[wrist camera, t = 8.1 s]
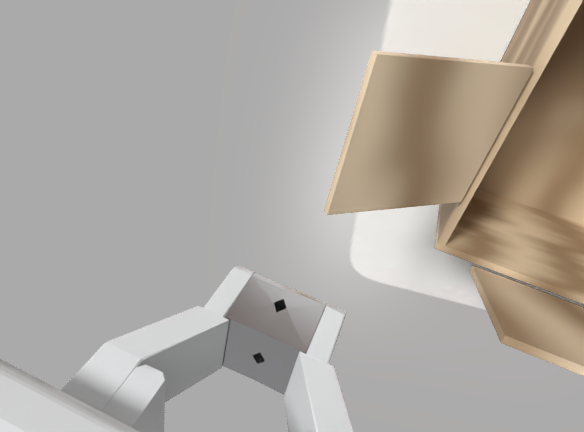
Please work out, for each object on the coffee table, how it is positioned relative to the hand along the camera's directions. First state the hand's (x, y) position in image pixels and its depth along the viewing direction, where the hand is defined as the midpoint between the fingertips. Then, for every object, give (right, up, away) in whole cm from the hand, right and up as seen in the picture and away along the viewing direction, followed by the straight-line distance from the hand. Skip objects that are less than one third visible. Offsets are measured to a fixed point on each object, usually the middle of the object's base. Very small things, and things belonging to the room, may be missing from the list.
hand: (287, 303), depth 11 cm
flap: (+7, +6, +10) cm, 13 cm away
